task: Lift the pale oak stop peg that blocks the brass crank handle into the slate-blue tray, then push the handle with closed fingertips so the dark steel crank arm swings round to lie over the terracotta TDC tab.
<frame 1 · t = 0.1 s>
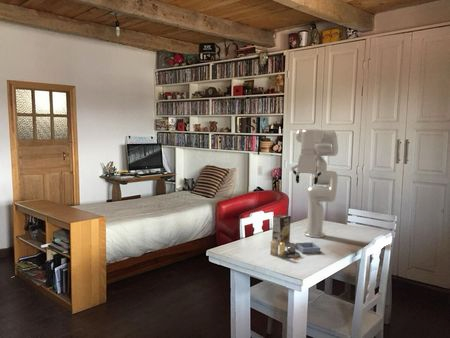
hand: (306, 183, 212), 37 cm above the table, tool pointing down, fingers open, 9 cm apart
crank: (287, 247, 203), point 5 cm above the table, hinge at 0.0°
coffee box: (280, 243, 228), on the table
stop peg: (274, 254, 207), on the table
crank base: (291, 255, 206), on the table
tray: (307, 250, 214), on the table
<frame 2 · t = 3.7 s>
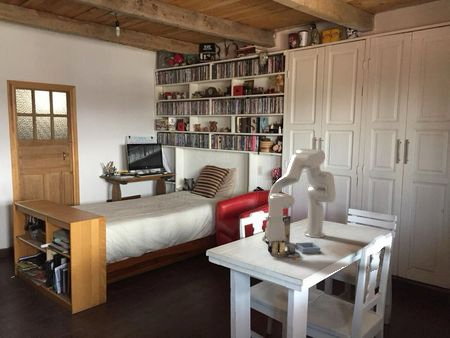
hand: (274, 252, 207), 1 cm above the table, tool pointing down, fingers closed on stop peg, 4 cm apart
stop peg: (274, 254, 207), on the table, touching gripper
everything else where it was.
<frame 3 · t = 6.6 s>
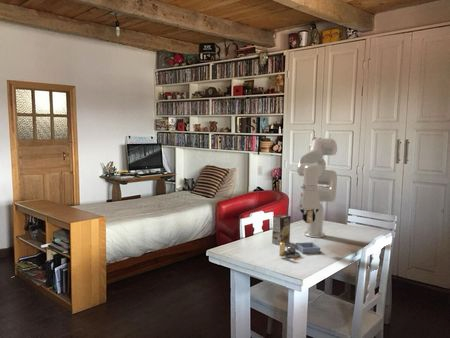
hand: (308, 220, 213), 17 cm above the table, tool pointing down, fingers closed on stop peg, 4 cm apart
stop peg: (308, 222, 213), point 16 cm above the table, touching gripper
everything else where it was.
when the fingers open (3 cm above the table, at t = 9.7 s): stop peg stays where it is, resting on tray.
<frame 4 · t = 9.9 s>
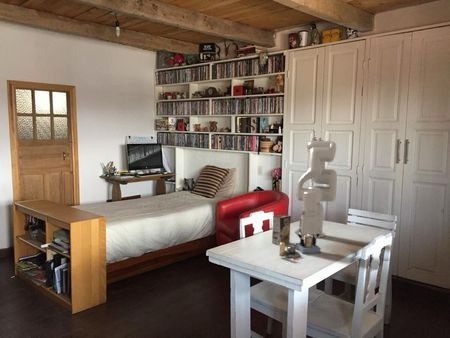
hand: (307, 245, 214), 3 cm above the table, tool pointing down, fingers open, 6 cm apart
stop peg: (307, 249, 214), point 1 cm above the table, touching tray
everything else where it was.
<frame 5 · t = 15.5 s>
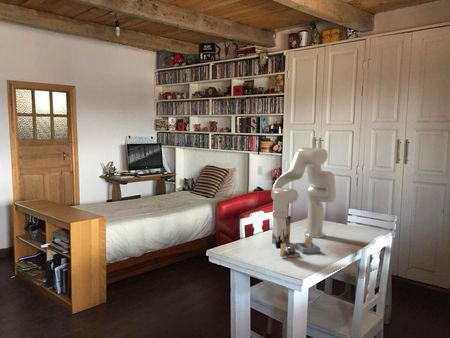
hand: (279, 248, 204), 4 cm above the table, tool pointing down, fingers closed
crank: (287, 247, 203), point 5 cm above the table, hinge at 4.3°, touching gripper
everything else where it was.
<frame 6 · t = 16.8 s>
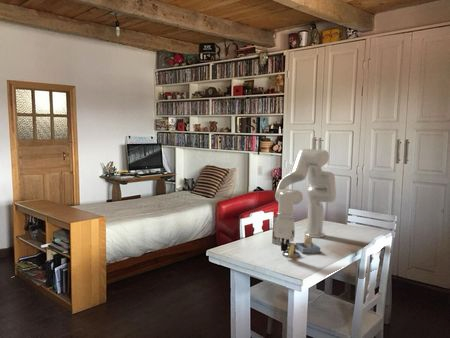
hand: (284, 250, 200), 4 cm above the table, tool pointing down, fingers closed
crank: (291, 248, 202), point 5 cm above the table, hinge at 38.1°, touching gripper
everything else where it was.
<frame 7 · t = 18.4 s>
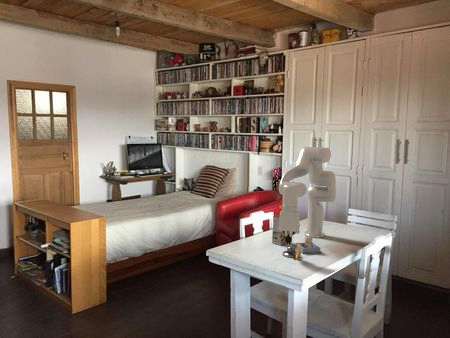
hand: (288, 243, 200), 8 cm above the table, tool pointing down, fingers closed
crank: (294, 248, 202), point 5 cm above the table, hinge at 67.2°
everything else where it was.
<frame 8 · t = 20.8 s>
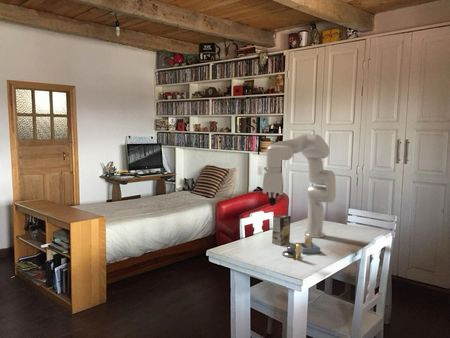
hand: (272, 205, 202), 27 cm above the table, tool pointing down, fingers closed
nothing on the table moved.
at the end: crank at +67° (first picture: +0°); stop peg inside the target area on the tray (0.1 cm from its centre), point 0.9 cm above the tray's base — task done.
